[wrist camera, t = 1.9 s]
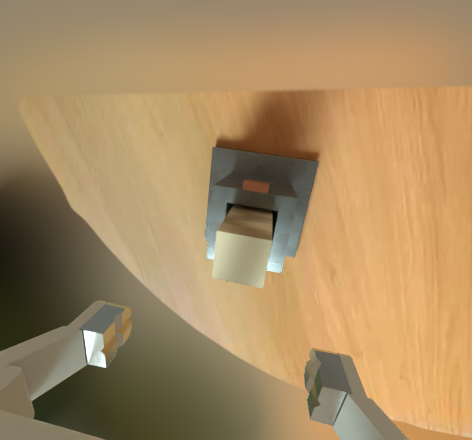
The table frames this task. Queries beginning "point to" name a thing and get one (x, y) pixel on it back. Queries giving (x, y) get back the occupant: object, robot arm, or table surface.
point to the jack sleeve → (261, 195)
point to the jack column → (243, 246)
